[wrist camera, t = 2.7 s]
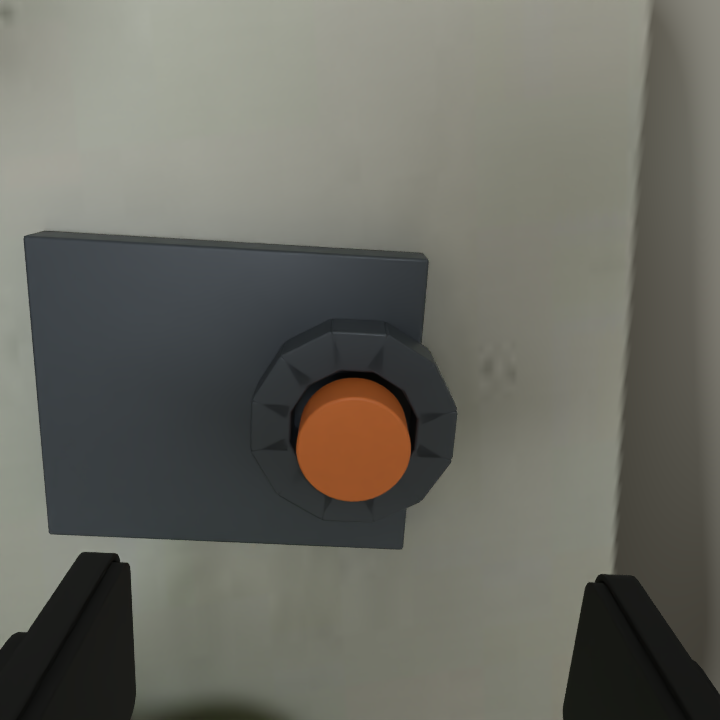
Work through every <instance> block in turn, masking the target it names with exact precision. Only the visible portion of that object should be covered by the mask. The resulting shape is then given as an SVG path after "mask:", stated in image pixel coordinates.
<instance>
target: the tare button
mask: <svg viewBox="0 0 720 720" xmlns="http://www.w3.org/2000/svg"><path fill="white" fill-rule="evenodd" d="M296 455H297V461H298V464H299V467H300V469H301V471H302V473H303V475H304V476H305V478H306V479H307V480H308V481H309V482H310V484H311V485H312V486H314V487H315V488H316V489H317V490H318V491H320V492H321V493H323V494H325V495H327V496H329V497H331V498H334V499H338V500H342V501H350V502H354V501H365V500H369V499H373V498H375V497H378V496H380V495H382V494H384V493H385V492H387V491H388V490H390V489H391V488H392V487H393V486H394V485H395V484H396V483H397V482H398V481H399V480H400V479H401V477H402V476H403V474H404V473H405V471H406V469H407V467H408V463H409V460H410V455H411V442H410V436H409V431H408V427H407V422H406V418H405V414H404V411H403V408H402V406H401V404H400V403H399V401H398V400H397V398H396V397H395V396H394V395H393V394H392V393H391V392H390V391H389V390H388V389H386V388H385V387H384V386H382V385H380V384H378V383H376V382H374V381H371V380H367V379H363V378H344V379H339V380H336V381H333V382H331V383H328V384H327V385H325V386H323V387H322V388H320V389H319V390H318V391H316V392H315V393H314V394H313V395H312V397H311V398H310V399H309V400H308V402H307V404H306V405H305V407H304V410H303V412H302V416H301V420H300V426H299V431H298V437H297V443H296Z"/></svg>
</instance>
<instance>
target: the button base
mask: <svg viewBox="0 0 720 720" xmlns="http://www.w3.org/2000/svg"><path fill="white" fill-rule="evenodd" d="M24 249H25V260H26V272H27V283H28V295H29V307H30V318H31V330H32V342H33V353H34V365H35V376H36V388H37V400H38V411H39V423H40V435H41V446H42V458H43V469H44V481H45V493H46V504H47V516H48V528H49V533H50V534H57V535H80V536H103V537H126V538H148V539H171V540H194V541H217V542H240V543H263V544H286V545H308V546H331V547H354V548H377V549H402V548H403V541H404V530H405V519H406V508H408V507H410V506H412V505H414V504H416V503H419V502H420V500H423V498H424V497H425V496H426V494H427V493H428V492H429V490H430V489H431V488H432V487H433V485H434V484H435V483H436V481H437V480H438V479H439V477H440V476H441V475H442V473H443V472H444V471H445V470H446V468H447V467H448V466H449V464H450V463H451V459H452V457H453V448H454V439H455V430H456V421H457V407H456V405H455V403H454V400H453V398H452V396H451V393H450V391H449V389H448V387H447V385H446V383H445V381H444V379H443V377H442V375H441V373H440V371H439V369H438V366H437V364H436V362H435V360H434V358H433V356H432V354H431V352H430V351H429V350H428V348H427V347H425V346H423V345H422V344H421V342H422V331H423V320H424V309H425V298H426V287H427V276H428V265H429V261H428V259H427V258H426V256H425V255H424V254H423V253H414V252H396V251H379V250H362V249H345V248H328V247H311V246H294V245H277V244H260V243H242V242H225V241H208V240H191V239H174V238H157V237H140V236H123V235H106V234H88V233H71V232H54V231H42V232H38V233H34V234H30V235H27V236H24ZM344 378H363V379H367V380H371V381H374V382H376V383H378V384H380V385H382V386H384V387H385V388H386V389H388V390H389V391H390V392H391V393H392V394H393V395H394V396H395V397H396V398H397V400H398V401H399V403H400V404H401V406H402V408H403V411H404V414H405V418H406V422H407V427H408V431H409V436H410V442H411V455H410V460H409V463H408V467H407V469H406V471H405V473H404V474H403V476H402V477H401V479H400V480H399V481H398V482H397V483H396V484H395V485H394V486H393V487H392V488H391V489H390V490H388V491H387V492H385V493H384V494H382V495H380V496H378V497H375V498H373V499H369V500H365V501H354V502H350V501H342V500H338V499H334V498H331V497H329V496H327V495H325V494H323V493H321V492H320V491H318V490H317V489H316V488H315V487H314V486H312V485H311V484H310V482H309V481H308V480H307V479H306V478H305V476H304V475H303V473H302V471H301V469H300V467H299V464H298V461H297V455H296V443H297V437H298V431H299V426H300V420H301V416H302V412H303V410H304V407H305V405H306V404H307V402H308V400H309V399H310V398H311V397H312V395H313V394H314V393H315V392H316V391H318V390H319V389H320V388H322V387H323V386H325V385H327V384H328V383H331V382H333V381H336V380H339V379H344Z"/></svg>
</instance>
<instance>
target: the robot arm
mask: <svg viewBox="0 0 720 720" xmlns="http://www.w3.org/2000/svg"><path fill="white" fill-rule="evenodd" d="M135 697H136V683H135V661H134V639H133V617H132V595H131V573H130V566H129V564H128V563H122V562H120V559H119V556H118V554H116V553H96V552H83V553H81V554H80V555H79V556H78V558H77V559H76V561H75V562H74V564H73V565H72V566H71V568H70V569H69V571H68V572H67V574H66V575H65V577H64V578H63V580H62V581H61V583H60V584H59V586H58V587H57V589H56V590H55V592H54V593H53V595H52V596H51V598H50V599H49V601H48V602H47V604H46V605H45V607H44V608H43V609H42V611H41V612H40V614H39V615H38V617H37V618H36V620H35V621H34V623H33V624H32V626H31V627H30V629H29V630H28V632H17V633H15V634H13V635H12V636H11V637H10V638H9V639H8V640H7V641H6V643H5V644H4V646H3V647H2V648H1V650H0V720H130V719H131V716H132V713H133V709H134V704H135ZM563 720H720V694H719V693H718V691H717V690H716V688H715V687H714V686H713V684H712V683H711V681H710V680H709V678H708V677H707V675H706V674H705V673H704V671H703V670H702V668H701V667H700V666H699V665H698V664H697V663H696V662H695V661H693V660H692V659H691V657H690V656H689V654H688V653H687V652H686V650H685V649H684V647H683V646H682V644H681V643H680V641H679V640H678V638H677V637H676V635H675V634H674V632H673V631H672V630H671V628H670V627H669V625H668V624H667V623H666V621H665V619H664V618H663V616H662V615H661V613H660V612H659V611H658V609H657V608H656V606H655V605H654V603H653V602H652V601H651V599H650V597H649V596H648V595H647V593H646V591H645V590H644V588H643V587H642V586H641V584H640V583H639V581H638V580H637V579H636V578H635V577H634V576H630V575H608V574H600V575H598V577H597V578H596V580H595V583H593V582H589V583H587V585H586V587H585V591H584V596H583V602H582V607H581V613H580V618H579V623H578V629H577V634H576V640H575V645H574V650H573V656H572V661H571V667H570V672H569V677H568V683H567V688H566V694H565V699H564V704H563Z"/></svg>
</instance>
